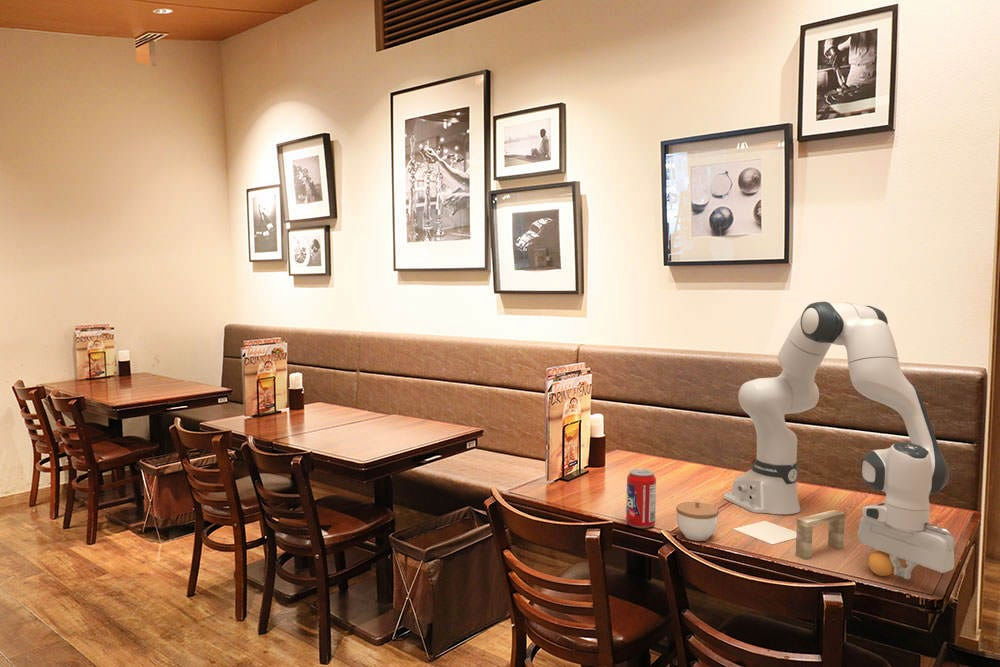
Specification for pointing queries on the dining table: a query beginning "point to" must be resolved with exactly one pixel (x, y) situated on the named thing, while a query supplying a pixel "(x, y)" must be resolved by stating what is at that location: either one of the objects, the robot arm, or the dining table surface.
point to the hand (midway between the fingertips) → (902, 576)
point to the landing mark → (767, 532)
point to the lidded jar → (697, 520)
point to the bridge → (806, 531)
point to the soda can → (641, 498)
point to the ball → (880, 563)
